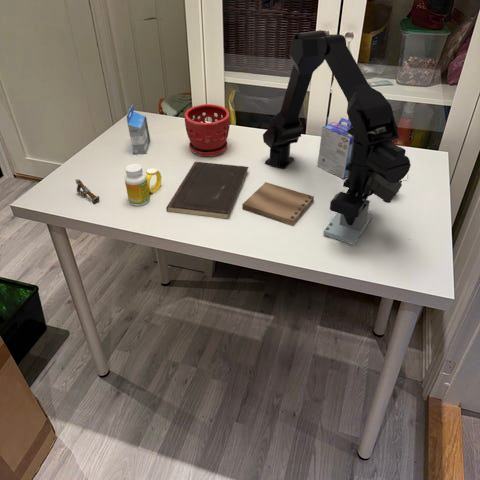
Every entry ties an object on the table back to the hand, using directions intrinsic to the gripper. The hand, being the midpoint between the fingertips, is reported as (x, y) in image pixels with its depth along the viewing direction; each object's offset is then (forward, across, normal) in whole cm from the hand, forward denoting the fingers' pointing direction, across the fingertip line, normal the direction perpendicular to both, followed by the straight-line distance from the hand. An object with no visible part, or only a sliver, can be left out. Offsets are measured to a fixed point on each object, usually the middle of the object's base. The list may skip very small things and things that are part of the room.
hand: (353, 219), depth 106 cm
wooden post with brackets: (+3, -22, +64) cm, 68 cm away
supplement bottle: (+3, -16, +51) cm, 54 cm away
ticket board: (+3, 0, +19) cm, 20 cm away
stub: (+2, 0, +1) cm, 3 cm away
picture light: (+3, +29, -3) cm, 29 cm away
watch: (+3, -10, +51) cm, 52 cm away
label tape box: (+3, +7, +70) cm, 71 cm away
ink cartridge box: (+3, +24, +13) cm, 28 cm away
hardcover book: (+3, -3, +38) cm, 39 cm away
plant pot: (+3, +16, +51) cm, 54 cm away
